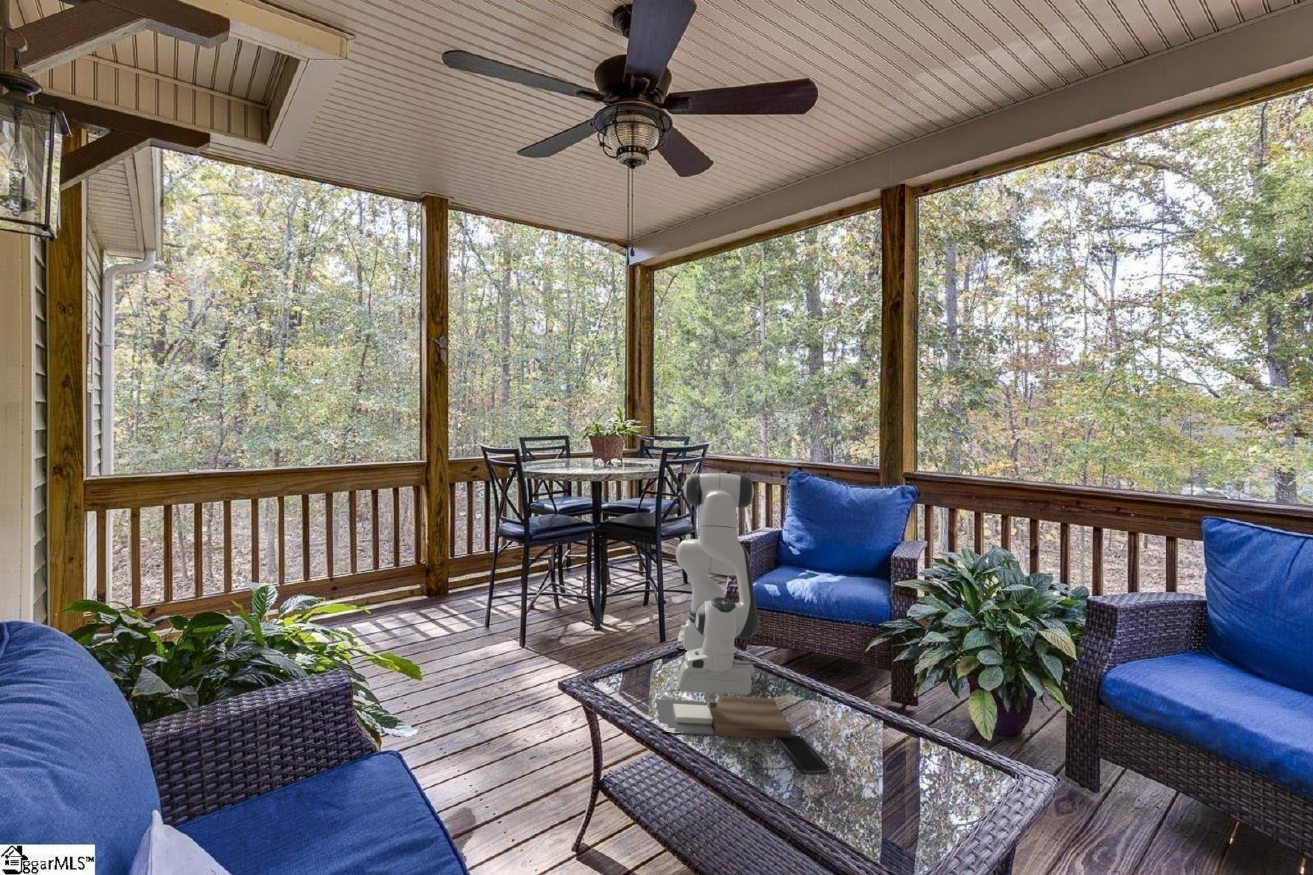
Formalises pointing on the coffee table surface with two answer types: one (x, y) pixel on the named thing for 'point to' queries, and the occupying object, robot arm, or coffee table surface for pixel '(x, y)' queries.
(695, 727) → the mat
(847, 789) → the coffee table surface
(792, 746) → the phone
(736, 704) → the wooden board
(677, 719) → the tile
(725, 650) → the robot arm
